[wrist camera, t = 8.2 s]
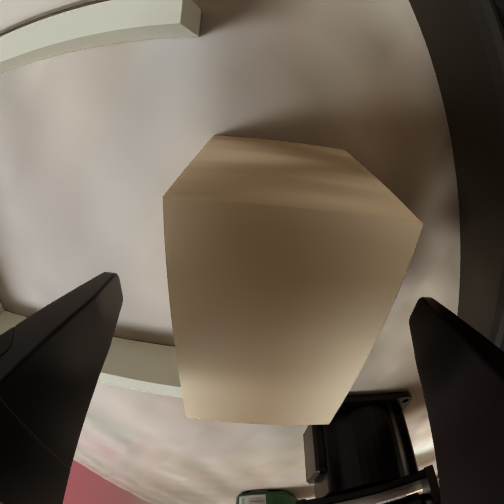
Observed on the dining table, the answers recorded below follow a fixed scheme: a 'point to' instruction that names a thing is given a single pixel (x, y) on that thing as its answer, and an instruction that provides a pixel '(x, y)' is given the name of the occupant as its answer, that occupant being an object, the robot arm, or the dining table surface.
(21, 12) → the rubber mat
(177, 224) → the block
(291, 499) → the coffee jar
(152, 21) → the open square frame
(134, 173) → the dining table surface
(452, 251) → the dining table surface
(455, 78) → the food platter
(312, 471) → the robot arm
